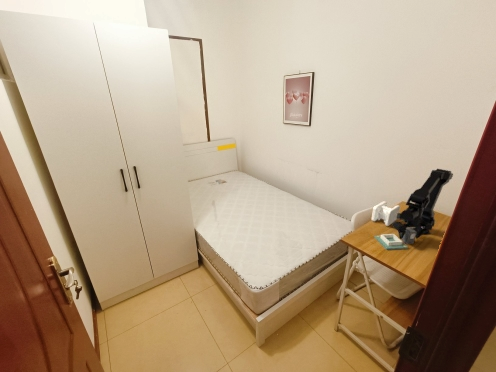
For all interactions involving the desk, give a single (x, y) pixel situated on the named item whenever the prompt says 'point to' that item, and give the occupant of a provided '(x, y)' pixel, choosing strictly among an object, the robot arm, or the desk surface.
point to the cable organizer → (385, 213)
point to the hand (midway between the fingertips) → (408, 238)
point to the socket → (391, 243)
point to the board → (390, 246)
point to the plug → (409, 236)
